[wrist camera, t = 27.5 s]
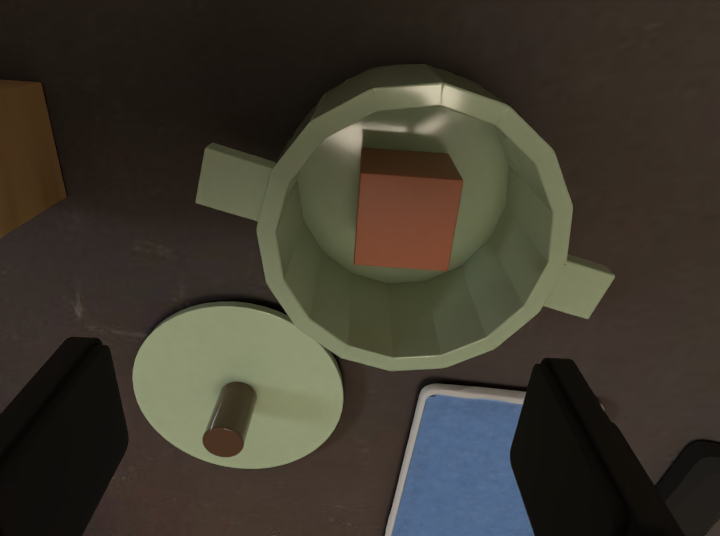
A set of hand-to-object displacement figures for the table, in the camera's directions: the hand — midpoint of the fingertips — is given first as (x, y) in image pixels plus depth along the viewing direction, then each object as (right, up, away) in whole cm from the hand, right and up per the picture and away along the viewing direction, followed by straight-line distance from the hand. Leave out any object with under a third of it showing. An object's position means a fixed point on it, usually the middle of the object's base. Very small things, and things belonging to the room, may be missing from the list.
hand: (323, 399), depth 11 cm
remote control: (+25, -16, +28) cm, 40 cm away
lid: (-7, -5, +22) cm, 23 cm away
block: (+3, +7, +15) cm, 17 cm away
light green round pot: (+3, +7, +16) cm, 18 cm away
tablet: (+10, -13, +27) cm, 31 cm away
